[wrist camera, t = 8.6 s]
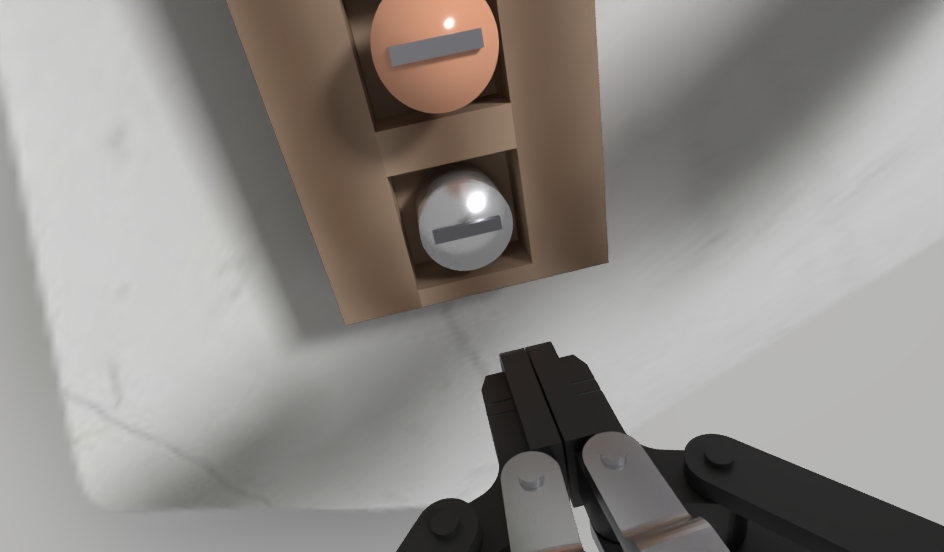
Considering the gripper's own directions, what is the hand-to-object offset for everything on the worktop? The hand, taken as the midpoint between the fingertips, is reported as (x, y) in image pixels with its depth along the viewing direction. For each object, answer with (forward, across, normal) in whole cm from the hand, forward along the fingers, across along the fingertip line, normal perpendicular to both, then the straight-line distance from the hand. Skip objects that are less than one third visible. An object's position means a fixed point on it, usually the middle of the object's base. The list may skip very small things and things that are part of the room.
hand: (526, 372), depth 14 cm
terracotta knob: (+11, 0, -8) cm, 14 cm away
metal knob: (+14, 0, 0) cm, 14 cm away
